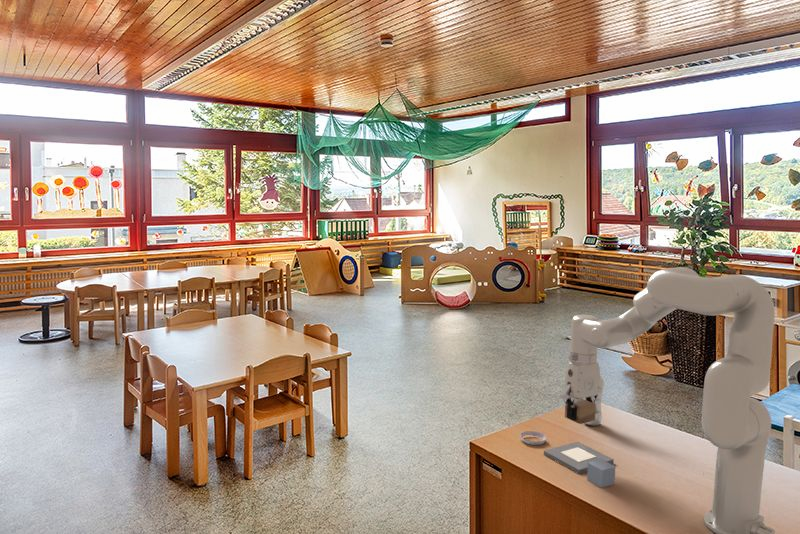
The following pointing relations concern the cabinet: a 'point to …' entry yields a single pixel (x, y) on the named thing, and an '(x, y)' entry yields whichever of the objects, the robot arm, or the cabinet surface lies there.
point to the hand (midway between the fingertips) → (579, 416)
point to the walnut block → (583, 411)
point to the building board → (576, 456)
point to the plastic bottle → (597, 406)
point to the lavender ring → (533, 435)
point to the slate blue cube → (601, 473)
